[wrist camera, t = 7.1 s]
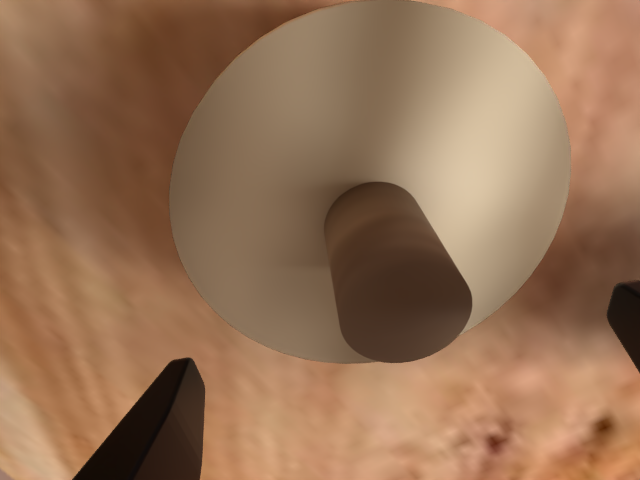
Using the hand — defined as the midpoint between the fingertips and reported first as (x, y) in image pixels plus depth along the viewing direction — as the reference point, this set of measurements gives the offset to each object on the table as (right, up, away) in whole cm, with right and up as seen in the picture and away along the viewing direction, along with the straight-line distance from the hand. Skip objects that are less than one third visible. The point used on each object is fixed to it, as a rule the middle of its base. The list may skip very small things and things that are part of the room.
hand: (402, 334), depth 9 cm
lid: (0, +3, +5) cm, 6 cm away
